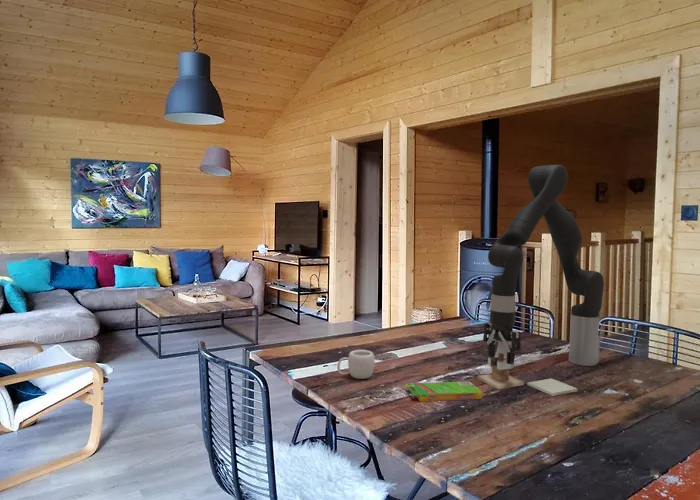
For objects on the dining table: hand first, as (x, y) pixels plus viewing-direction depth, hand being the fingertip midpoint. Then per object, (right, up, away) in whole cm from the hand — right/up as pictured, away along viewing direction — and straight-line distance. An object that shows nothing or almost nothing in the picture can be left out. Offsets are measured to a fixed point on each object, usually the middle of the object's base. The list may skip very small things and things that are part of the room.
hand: (500, 360), depth 159 cm
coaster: (+14, -8, -4) cm, 17 cm away
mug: (-45, -6, +4) cm, 46 cm away
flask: (+5, -6, +16) cm, 18 cm away
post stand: (0, -7, +1) cm, 7 cm away
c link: (0, -2, 0) cm, 2 cm away
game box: (-20, -8, -10) cm, 24 cm away
